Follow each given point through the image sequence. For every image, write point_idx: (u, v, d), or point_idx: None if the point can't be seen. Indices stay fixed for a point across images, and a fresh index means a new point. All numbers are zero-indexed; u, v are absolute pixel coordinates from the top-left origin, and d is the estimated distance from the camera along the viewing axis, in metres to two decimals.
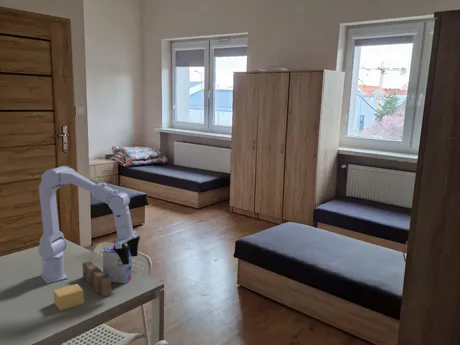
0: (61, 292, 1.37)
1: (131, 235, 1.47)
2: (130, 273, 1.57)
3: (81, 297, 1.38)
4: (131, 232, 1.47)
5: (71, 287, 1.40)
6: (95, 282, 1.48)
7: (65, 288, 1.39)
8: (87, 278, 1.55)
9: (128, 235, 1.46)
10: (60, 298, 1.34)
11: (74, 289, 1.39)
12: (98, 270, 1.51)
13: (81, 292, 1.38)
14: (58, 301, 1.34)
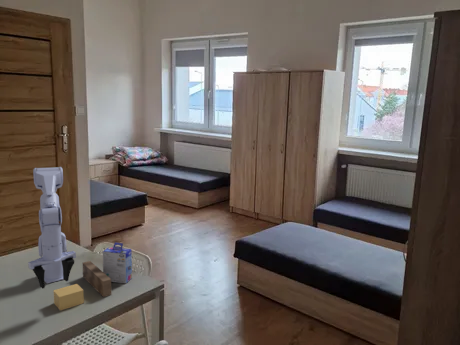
0: (61, 292, 1.37)
1: (53, 258, 1.28)
2: (130, 273, 1.57)
3: (81, 297, 1.38)
4: (54, 255, 1.28)
5: (71, 287, 1.40)
6: (95, 282, 1.48)
7: (65, 288, 1.39)
8: (87, 278, 1.55)
9: (49, 257, 1.28)
10: (60, 298, 1.34)
11: (74, 289, 1.39)
12: (98, 270, 1.51)
13: (81, 292, 1.38)
14: (58, 301, 1.34)
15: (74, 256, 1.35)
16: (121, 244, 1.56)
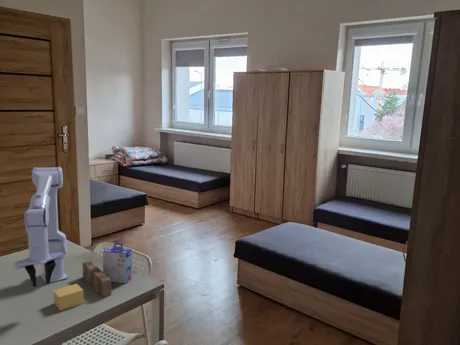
0: (61, 292, 1.37)
1: (38, 259, 1.27)
2: (130, 273, 1.57)
3: (81, 297, 1.38)
4: (39, 256, 1.27)
5: (71, 287, 1.40)
6: (95, 282, 1.48)
7: (65, 288, 1.39)
8: (87, 278, 1.55)
9: (34, 258, 1.27)
10: (60, 298, 1.34)
11: (74, 288, 1.39)
12: (98, 270, 1.51)
13: (81, 292, 1.38)
14: (58, 301, 1.34)
15: (62, 257, 1.34)
16: (121, 244, 1.56)
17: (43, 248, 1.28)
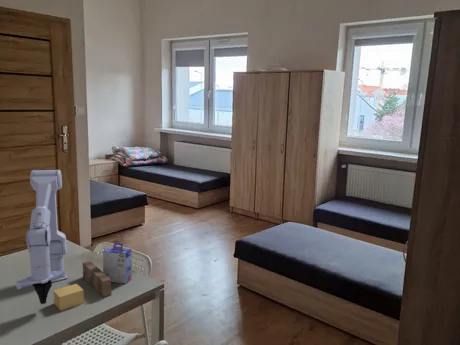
0: (61, 292, 1.36)
1: (40, 278, 1.29)
2: (130, 273, 1.57)
3: (81, 297, 1.39)
4: (41, 275, 1.29)
5: (71, 287, 1.40)
6: (95, 282, 1.48)
7: (65, 288, 1.39)
8: (87, 278, 1.55)
9: (36, 277, 1.28)
10: (61, 298, 1.34)
11: (74, 288, 1.39)
12: (98, 270, 1.51)
13: (81, 292, 1.38)
14: (58, 301, 1.34)
15: (63, 276, 1.35)
16: (121, 244, 1.56)
17: (45, 267, 1.29)
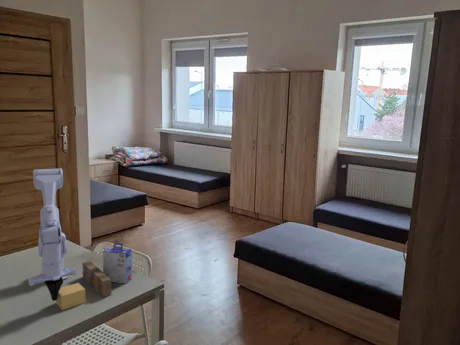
0: (63, 291, 1.37)
1: (52, 275, 1.31)
2: (130, 273, 1.57)
3: (83, 296, 1.39)
4: (53, 272, 1.31)
5: (72, 286, 1.40)
6: (95, 282, 1.48)
7: (67, 287, 1.40)
8: (87, 278, 1.55)
9: (48, 274, 1.31)
10: (62, 297, 1.34)
11: (75, 288, 1.39)
12: (98, 270, 1.51)
13: (83, 291, 1.39)
14: (60, 300, 1.35)
15: (74, 273, 1.37)
16: (121, 244, 1.56)
17: (57, 264, 1.31)
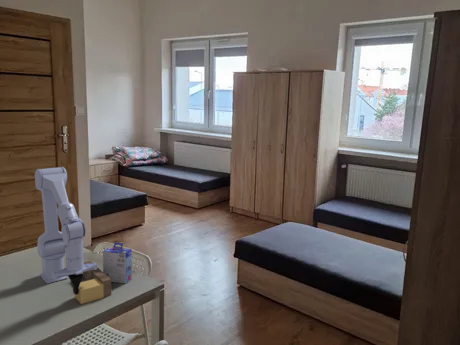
0: (82, 285, 1.41)
1: (75, 270, 1.36)
2: (130, 273, 1.57)
3: (101, 291, 1.43)
4: (76, 267, 1.36)
5: (91, 281, 1.44)
6: None
7: (86, 282, 1.44)
8: (87, 278, 1.55)
9: (71, 269, 1.35)
10: (81, 291, 1.38)
11: (94, 283, 1.43)
12: (98, 270, 1.51)
13: (101, 286, 1.42)
14: (79, 294, 1.39)
15: (95, 268, 1.42)
16: (121, 244, 1.56)
17: (79, 259, 1.36)
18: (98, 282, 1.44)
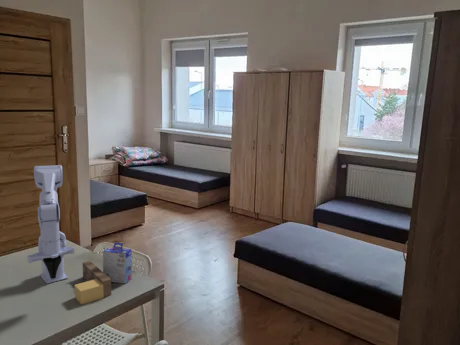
0: (82, 286, 1.41)
1: (50, 253, 1.33)
2: (130, 273, 1.57)
3: (101, 291, 1.43)
4: (51, 250, 1.32)
5: (91, 282, 1.44)
6: None
7: (86, 282, 1.44)
8: (87, 278, 1.55)
9: (46, 252, 1.32)
10: (81, 292, 1.38)
11: (94, 283, 1.43)
12: (98, 270, 1.51)
13: (101, 287, 1.42)
14: (79, 295, 1.39)
15: (72, 252, 1.39)
16: (121, 244, 1.56)
17: (55, 242, 1.33)
18: (98, 283, 1.44)
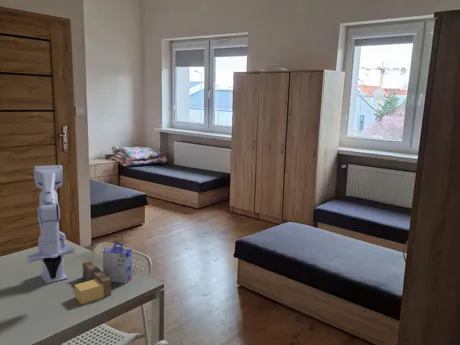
0: (82, 286, 1.41)
1: (50, 253, 1.33)
2: (130, 273, 1.57)
3: (101, 291, 1.43)
4: (51, 250, 1.32)
5: (91, 282, 1.44)
6: None
7: (86, 282, 1.44)
8: (87, 278, 1.55)
9: (46, 252, 1.32)
10: (81, 292, 1.38)
11: (94, 283, 1.43)
12: (98, 270, 1.51)
13: (101, 287, 1.42)
14: (79, 295, 1.39)
15: (72, 252, 1.39)
16: (121, 244, 1.56)
17: (55, 242, 1.33)
18: (98, 283, 1.44)
